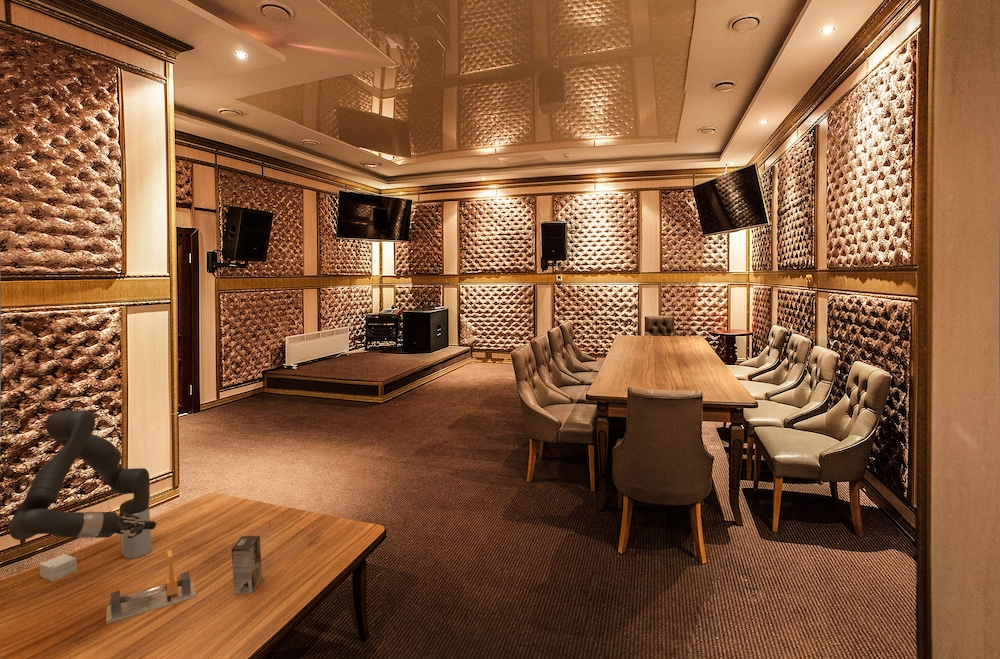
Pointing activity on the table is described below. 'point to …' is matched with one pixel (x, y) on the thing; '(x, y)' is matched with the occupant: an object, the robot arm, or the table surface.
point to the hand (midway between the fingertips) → (154, 525)
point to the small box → (58, 567)
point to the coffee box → (246, 564)
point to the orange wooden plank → (171, 576)
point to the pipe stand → (148, 599)
